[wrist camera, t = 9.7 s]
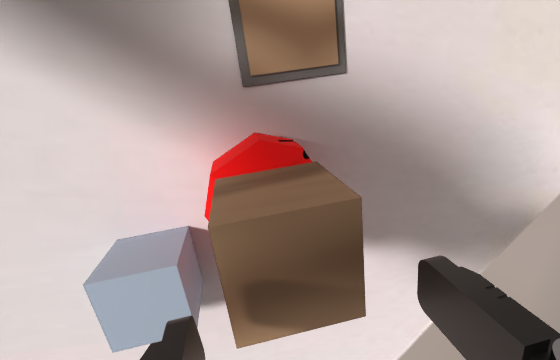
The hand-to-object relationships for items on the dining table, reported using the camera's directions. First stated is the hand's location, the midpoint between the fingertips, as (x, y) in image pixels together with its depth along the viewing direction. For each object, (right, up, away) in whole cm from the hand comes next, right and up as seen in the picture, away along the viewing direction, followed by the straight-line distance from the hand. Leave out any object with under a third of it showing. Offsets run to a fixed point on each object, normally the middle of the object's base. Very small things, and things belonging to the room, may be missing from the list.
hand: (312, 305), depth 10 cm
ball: (-3, +4, +15) cm, 16 cm away
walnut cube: (-2, +2, +8) cm, 8 cm away
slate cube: (-12, -3, +16) cm, 20 cm away
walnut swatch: (0, +16, +11) cm, 20 cm away
